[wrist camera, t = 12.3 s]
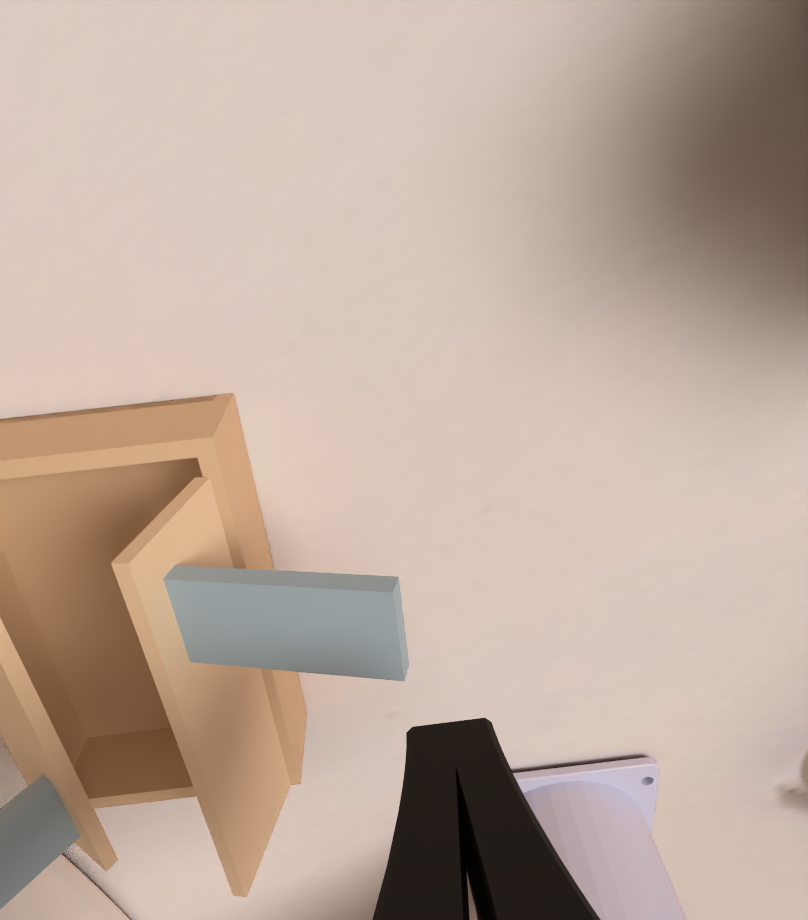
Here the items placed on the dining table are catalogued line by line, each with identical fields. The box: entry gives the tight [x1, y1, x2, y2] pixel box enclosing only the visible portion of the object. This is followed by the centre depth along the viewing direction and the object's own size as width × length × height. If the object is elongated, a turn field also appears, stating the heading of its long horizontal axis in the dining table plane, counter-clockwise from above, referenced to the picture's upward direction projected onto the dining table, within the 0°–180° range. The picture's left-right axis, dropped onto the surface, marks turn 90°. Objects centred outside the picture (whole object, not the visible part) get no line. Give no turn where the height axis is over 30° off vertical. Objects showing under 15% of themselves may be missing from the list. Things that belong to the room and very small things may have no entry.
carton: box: [0, 393, 307, 809], centre depth 20 cm, size 13×8×3 cm, turn 5°
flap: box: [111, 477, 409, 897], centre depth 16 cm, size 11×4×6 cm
